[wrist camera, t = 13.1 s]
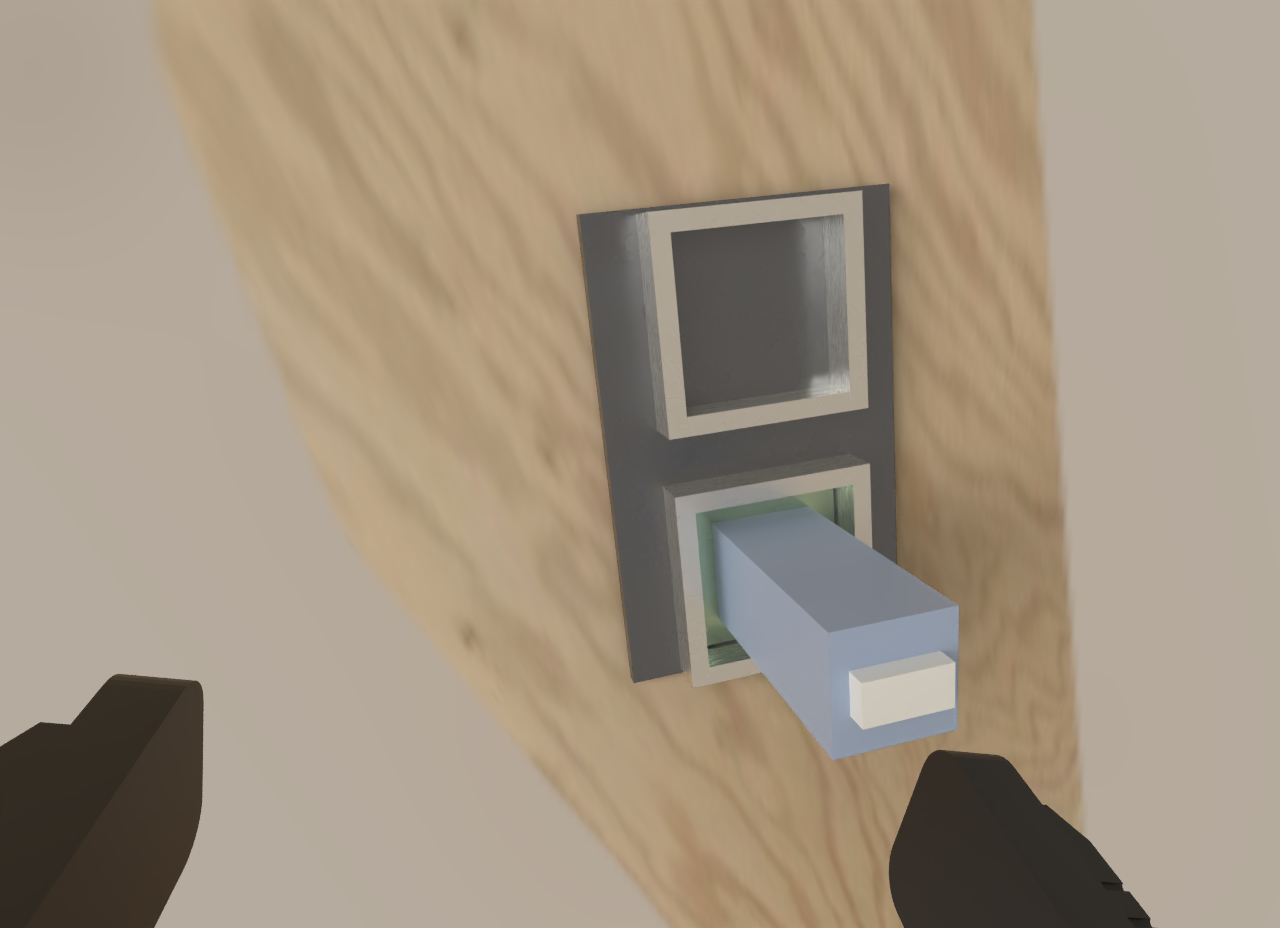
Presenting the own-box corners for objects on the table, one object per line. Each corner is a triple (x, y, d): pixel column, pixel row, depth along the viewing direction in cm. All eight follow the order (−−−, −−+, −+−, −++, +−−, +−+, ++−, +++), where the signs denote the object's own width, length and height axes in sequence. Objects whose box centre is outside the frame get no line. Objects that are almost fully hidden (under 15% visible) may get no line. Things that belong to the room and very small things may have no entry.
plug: (712, 523, 35) (840, 644, 24) (808, 506, 36) (974, 615, 25) (719, 618, 37) (844, 775, 26) (812, 599, 38) (972, 742, 27)
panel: (576, 215, 32) (587, 212, 29) (881, 185, 34) (913, 179, 32) (630, 676, 37) (644, 703, 35) (891, 619, 40) (918, 640, 38)
